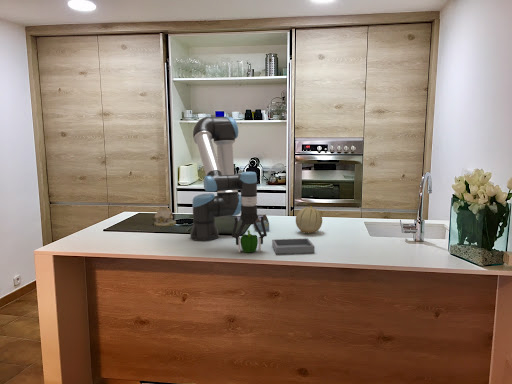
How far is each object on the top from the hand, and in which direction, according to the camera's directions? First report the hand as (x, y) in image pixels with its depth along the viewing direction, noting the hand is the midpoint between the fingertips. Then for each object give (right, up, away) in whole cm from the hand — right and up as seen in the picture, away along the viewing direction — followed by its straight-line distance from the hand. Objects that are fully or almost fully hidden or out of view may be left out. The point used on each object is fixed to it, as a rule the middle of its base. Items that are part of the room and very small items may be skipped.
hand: (249, 251), depth 196 cm
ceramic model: (-53, +8, +58) cm, 79 cm away
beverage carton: (+6, +7, +47) cm, 47 cm away
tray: (+21, 0, +2) cm, 21 cm away
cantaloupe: (+33, +5, +34) cm, 47 cm away
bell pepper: (0, 0, 0) cm, 0 cm away
